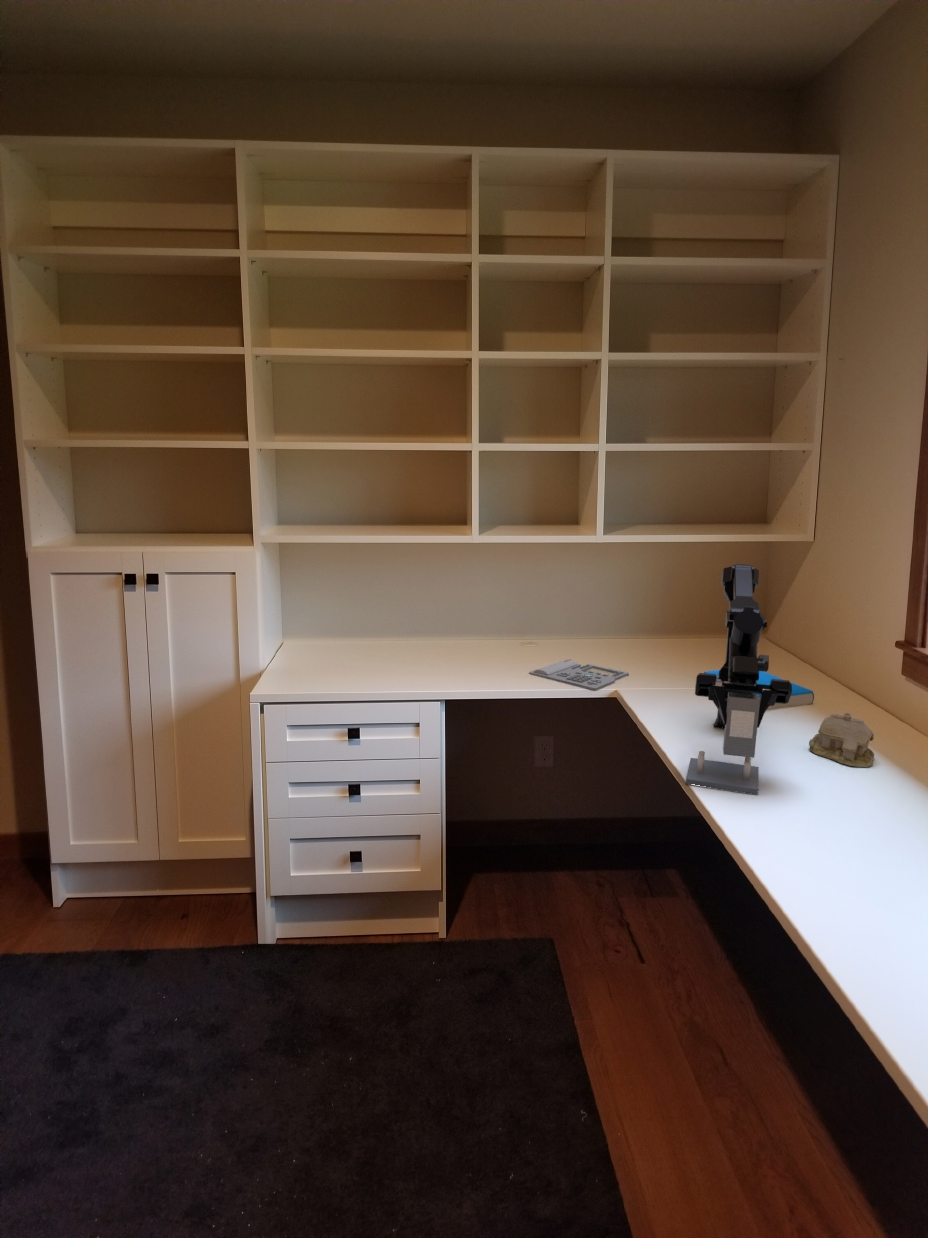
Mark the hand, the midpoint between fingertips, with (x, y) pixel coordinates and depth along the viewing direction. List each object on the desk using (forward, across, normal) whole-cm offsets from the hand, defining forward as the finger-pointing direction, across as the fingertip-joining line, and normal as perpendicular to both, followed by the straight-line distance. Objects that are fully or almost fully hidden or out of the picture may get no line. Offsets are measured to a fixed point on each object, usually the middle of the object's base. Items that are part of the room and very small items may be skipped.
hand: (741, 725), depth 169 cm
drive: (+4, 0, +6) cm, 7 cm away
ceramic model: (-6, +24, +25) cm, 35 cm away
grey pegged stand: (+8, -3, +10) cm, 13 cm away
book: (-36, +9, +55) cm, 66 cm away
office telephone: (-38, -40, +57) cm, 79 cm away
